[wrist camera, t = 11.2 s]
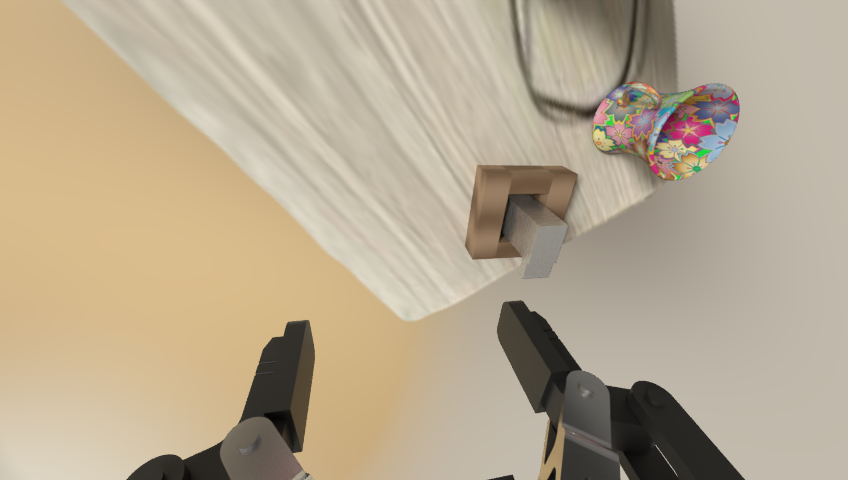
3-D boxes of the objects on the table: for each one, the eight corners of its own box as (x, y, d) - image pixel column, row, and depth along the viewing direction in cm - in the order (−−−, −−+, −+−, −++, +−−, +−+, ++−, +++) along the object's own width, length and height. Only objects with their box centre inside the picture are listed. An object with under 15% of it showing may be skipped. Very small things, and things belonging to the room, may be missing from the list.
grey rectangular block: (502, 192, 42) (539, 226, 33) (526, 192, 43) (568, 225, 34) (492, 239, 46) (524, 281, 37) (514, 238, 46) (550, 279, 38)
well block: (477, 165, 39) (487, 174, 36) (561, 166, 42) (577, 174, 39) (465, 246, 45) (472, 259, 42) (539, 242, 48) (551, 255, 45)
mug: (664, 109, 40) (753, 123, 31) (609, 167, 43) (676, 196, 34) (617, 43, 35) (706, 38, 26) (557, 114, 38) (620, 132, 29)
